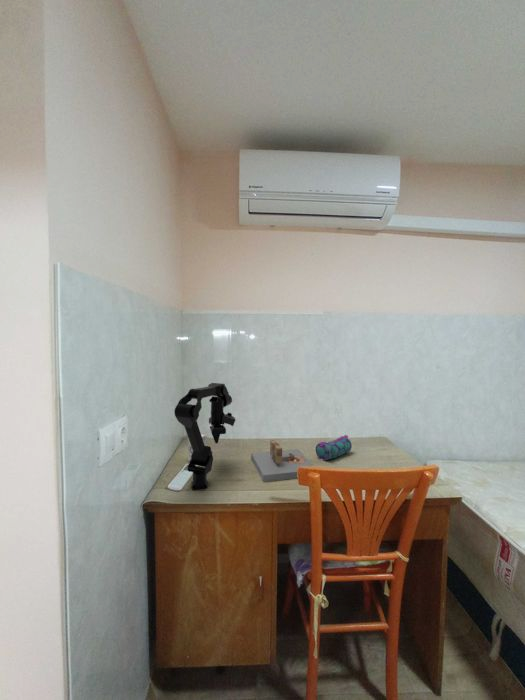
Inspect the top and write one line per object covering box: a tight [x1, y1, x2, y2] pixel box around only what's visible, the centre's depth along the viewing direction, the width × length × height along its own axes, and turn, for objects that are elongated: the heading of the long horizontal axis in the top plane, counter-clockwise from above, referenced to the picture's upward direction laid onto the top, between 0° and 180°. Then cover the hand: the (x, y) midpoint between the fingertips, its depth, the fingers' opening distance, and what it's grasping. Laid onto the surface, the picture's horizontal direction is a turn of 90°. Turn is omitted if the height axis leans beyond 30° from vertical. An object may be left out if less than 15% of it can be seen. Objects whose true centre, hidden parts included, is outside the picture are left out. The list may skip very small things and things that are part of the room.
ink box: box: [187, 433, 208, 462], centre depth 141 cm, size 9×5×12 cm, turn 149°
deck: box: [250, 448, 315, 483], centre depth 135 cm, size 24×26×3 cm
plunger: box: [269, 439, 294, 464], centre depth 135 cm, size 11×10×8 cm
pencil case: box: [315, 434, 352, 461], centre depth 150 cm, size 21×9×10 cm, turn 128°
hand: (216, 443), depth 129 cm, fingers closed
